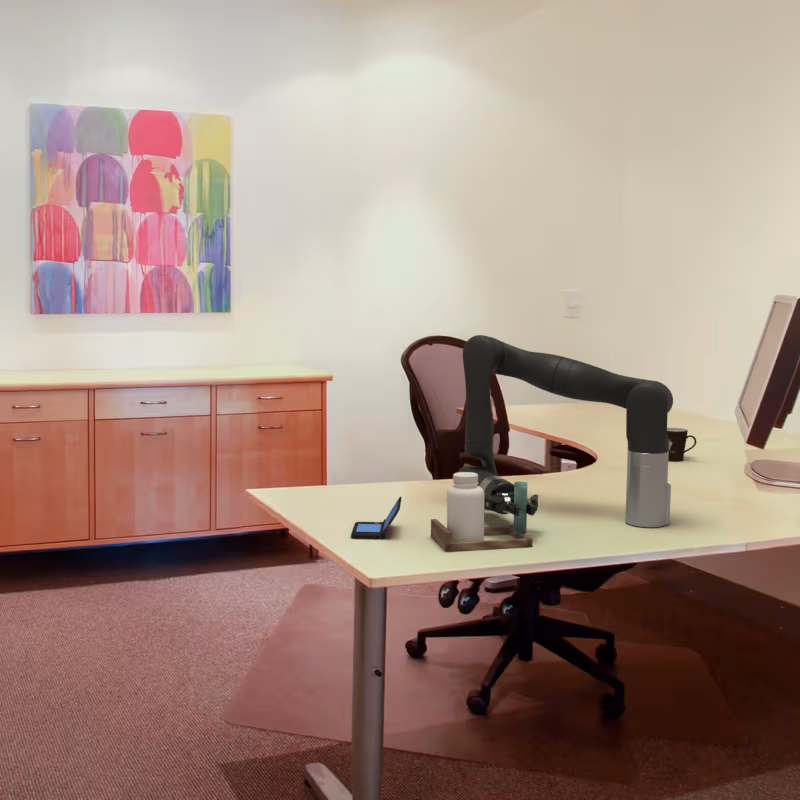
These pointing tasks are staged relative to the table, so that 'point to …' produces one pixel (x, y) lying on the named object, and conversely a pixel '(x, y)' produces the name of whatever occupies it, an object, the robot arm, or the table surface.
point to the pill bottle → (465, 508)
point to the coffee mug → (677, 443)
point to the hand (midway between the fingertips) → (525, 511)
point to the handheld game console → (375, 526)
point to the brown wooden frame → (490, 530)
